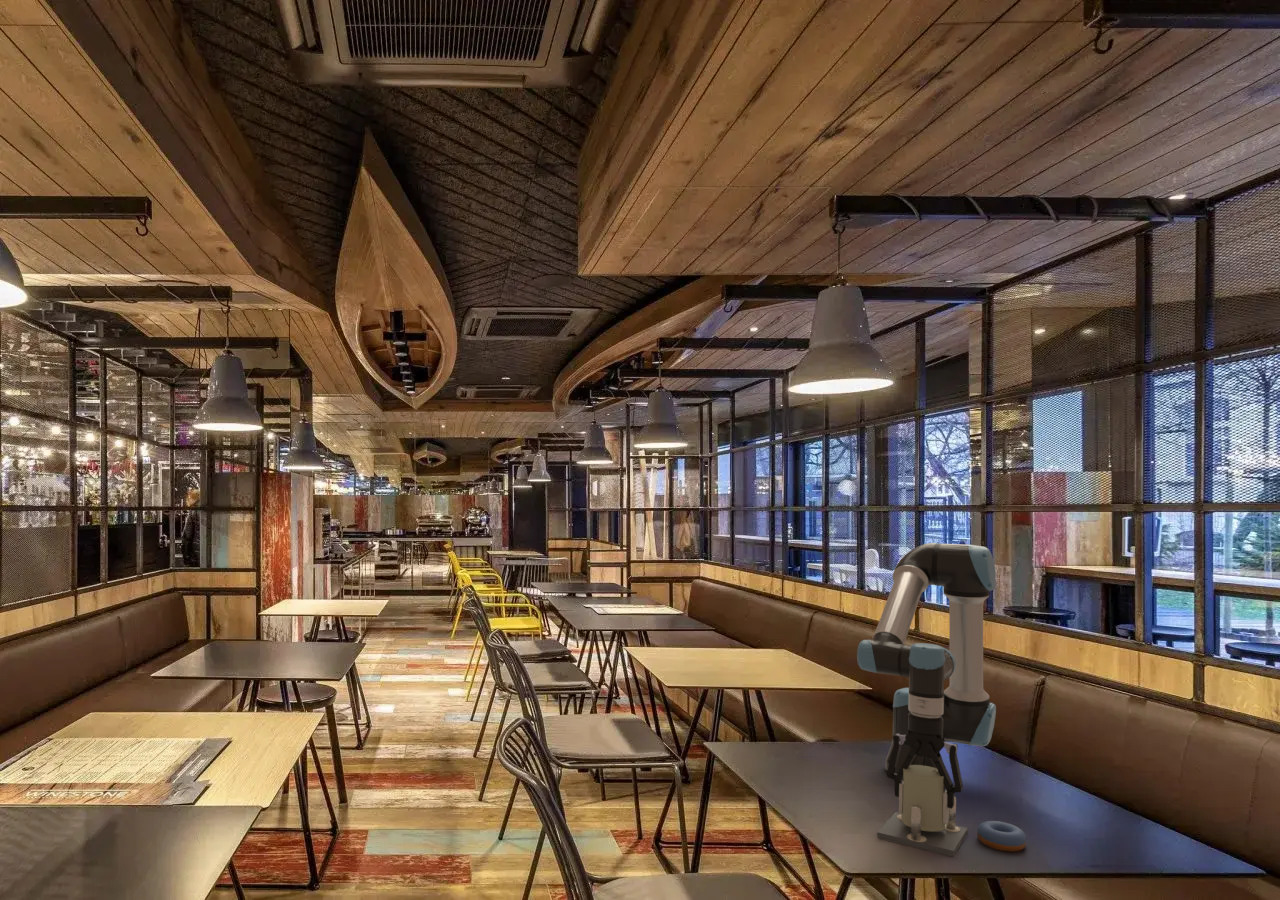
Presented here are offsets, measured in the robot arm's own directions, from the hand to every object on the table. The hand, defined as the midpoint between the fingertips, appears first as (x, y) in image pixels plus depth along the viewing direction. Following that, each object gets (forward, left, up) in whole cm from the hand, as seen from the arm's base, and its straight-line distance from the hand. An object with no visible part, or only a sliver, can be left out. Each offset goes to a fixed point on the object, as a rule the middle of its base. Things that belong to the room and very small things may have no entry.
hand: (923, 816), depth 184 cm
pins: (+1, 0, -3) cm, 3 cm away
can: (0, 0, -2) cm, 2 cm away
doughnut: (-6, +15, -5) cm, 17 cm away
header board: (0, 0, -4) cm, 4 cm away
